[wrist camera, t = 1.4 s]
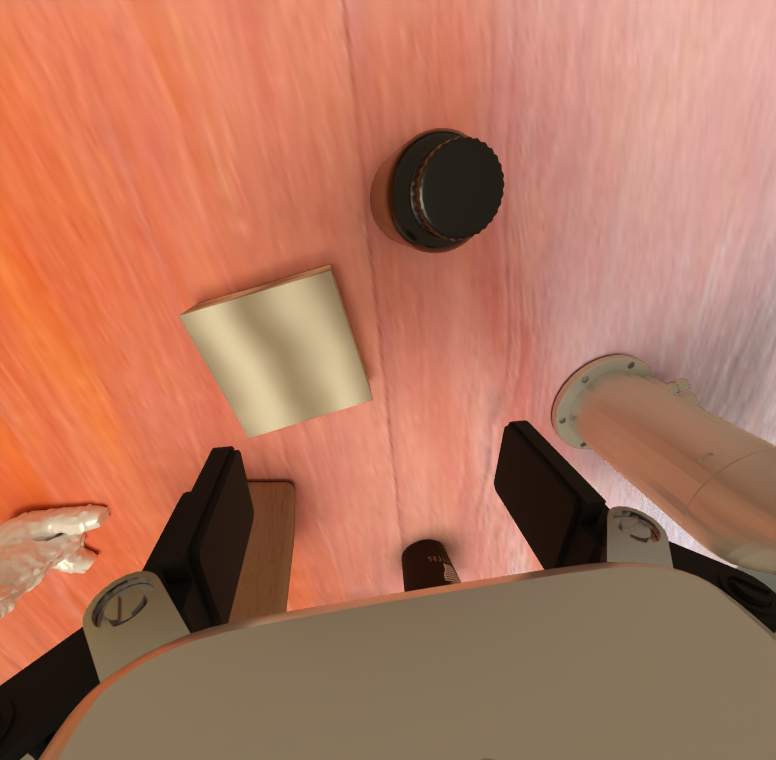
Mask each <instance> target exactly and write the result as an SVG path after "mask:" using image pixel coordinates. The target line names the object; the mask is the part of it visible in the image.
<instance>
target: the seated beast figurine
mask: <svg viewBox="0 0 776 760" xmlns="http://www.w3.org/2000/svg"><path fill="white" fill-rule="evenodd" d="M108 509H109V508H108V507H104V506H99V505H91V504H88V505H87V506H76V507H62V508H50V509H48V510H36V511H31V512H29V513H26V512H25V513H22V514H21V515H19V516H18V517H16V518H13V519H10V520H8V521H6V522H5V523H3V524H1V525H0V619H1V618H2V617H4V616H5V615H6V614H7V613H8V612H10V611H12V610H13V609H14V608H15V606H16V601H17V600H18V599H19V598H21V597H22V596H23V594H24V593H25V592H29V591H31V590H32V589H33V588H34V587H36V586H37V585H38V584H39V583H40V582H41V581H42V579H43V576H44V575H45V574H47V573H49V572H50V570H51V569H52V568H56V569H58V570H59V571H63V572H68V573H69V574H72V573H73V572H75V573H85V572H86V570H88V569H89V567H90V566H91V565H92V564H93V562H94V561H95V560H96V558H97V556H98V555H97V554H95V553H94V551H91V550H89V549H87V548H85V547H84V540H85V538H86V537H85V536H86V533H84V532H86V531H89V530H91V529H95V528H98V527H100V526H102V525H103V524H104V523H105V522H106V521H107V519H108V517H109V513H110V511H109V510H108Z"/></svg>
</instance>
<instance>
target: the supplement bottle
mask: <svg viewBox="0 0 776 760" xmlns="http://www.w3.org/2000/svg"><path fill="white" fill-rule="evenodd" d="M503 177H504V174H503V172H502V166H501V164H500V163H499V161H498V156H497V155H495V154H494V152H493V150H492V148H489V147H488V146H487V144H486V143H485V142H480V140H479V139H478V138H474V139H472V138H471V137H469V136H467V135H466V134H464V133H462V132H460V131H457V130H454V129H449V128H436V129H431V130H428V131H425V132H423V133H421V134H419V135H417V136H415V137H414V138H412V139H411V140H410V141H408V142H407V143H406V144H405V145H404V146H402V147H401V148H400V149H399V150H398V151H396V152H395V153H394V154H393V155H392V156H391V157H389V158H388V159H387V160H386V161H385V162H384V163H383V165H382V166H381V167H380V169H379V170H378V172H377V174H376V176H375V178H374V181H373V184H372V188H371V196H370V202H371V209H372V213H373V216H374V219H375V221H376V223H377V225H378V226H379V228H380V229H381V230H382V231H383V233H384V234H385V235H387V236H388V237H389V238H391V239H392V240H394V241H396V242H398V243H401V244H403V245H406V246H409V247H412V248H414V249H417V250H420V251H423V252H428V253H443V252H447V251H451V250H453V249H456V248H458V247H459V246H461V245H463V244H464V243H466V242H467V241H468V240H469V239H470V238H471V237H473V236H474V235H475V234H479V233H480V232H481V230H482V229H485V228H486V227H487V225H488V224H489V223H490V222H492V220H493V217H494V216H495V215H496V214H497V212H498V208H499V206H500V205H501V199H502V197H503V188H504V181H503Z"/></svg>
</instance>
